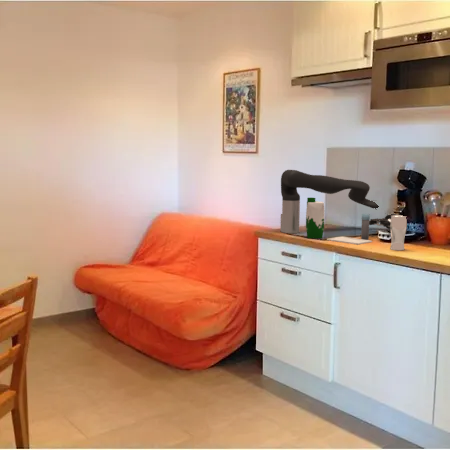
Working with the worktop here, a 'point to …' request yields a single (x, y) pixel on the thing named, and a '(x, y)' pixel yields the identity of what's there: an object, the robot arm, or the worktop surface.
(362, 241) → the pad
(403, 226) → the beer glass
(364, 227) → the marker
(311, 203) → the milk carton
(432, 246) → the worktop surface
